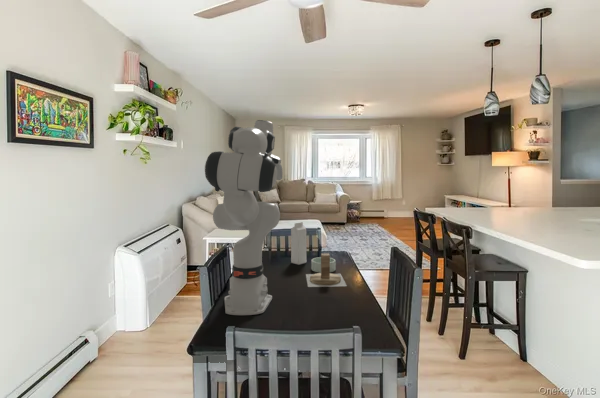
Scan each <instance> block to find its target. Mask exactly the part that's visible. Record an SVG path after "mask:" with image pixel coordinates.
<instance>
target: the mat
mask: <svg viewBox="0 0 600 398" xmlns="http://www.w3.org/2000/svg"><path fill="white" fill-rule="evenodd" d="M313 274H314V273H305V279H306V283H307V287H308V288H322V287H323V288H327V287H329V288H330V287H332V288H334V287H337V288H338V287H347V286H348V285H347V283H346V281H345V280H344V279H345V278H343V276H342V274H341V273H335V274H336V275H339V276H340V277H341V281H340V282H339V283H337V284H333V285H319V284H315V283H312V282H311V281H310V276H311V275H313Z"/></svg>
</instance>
